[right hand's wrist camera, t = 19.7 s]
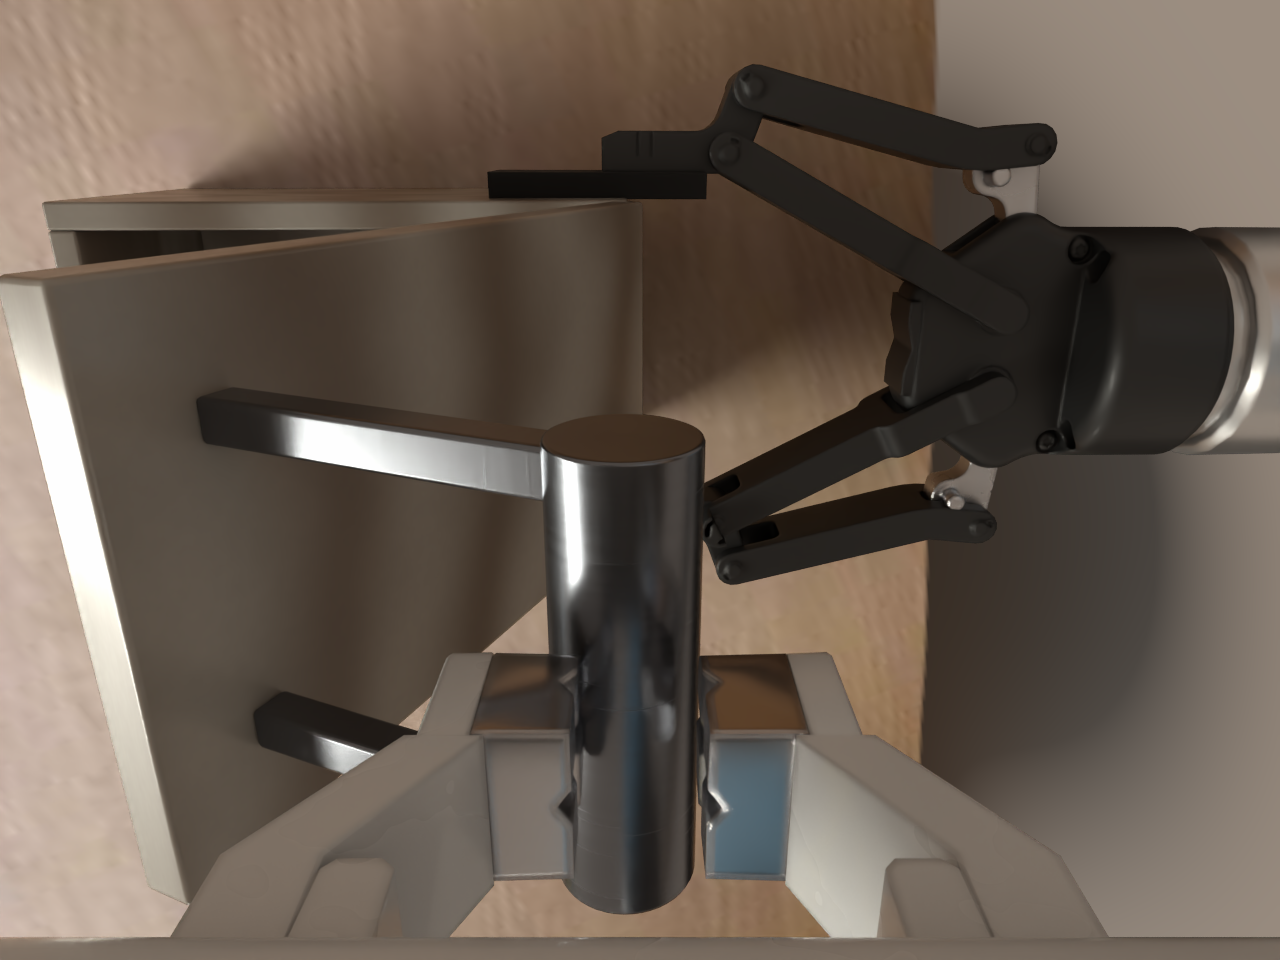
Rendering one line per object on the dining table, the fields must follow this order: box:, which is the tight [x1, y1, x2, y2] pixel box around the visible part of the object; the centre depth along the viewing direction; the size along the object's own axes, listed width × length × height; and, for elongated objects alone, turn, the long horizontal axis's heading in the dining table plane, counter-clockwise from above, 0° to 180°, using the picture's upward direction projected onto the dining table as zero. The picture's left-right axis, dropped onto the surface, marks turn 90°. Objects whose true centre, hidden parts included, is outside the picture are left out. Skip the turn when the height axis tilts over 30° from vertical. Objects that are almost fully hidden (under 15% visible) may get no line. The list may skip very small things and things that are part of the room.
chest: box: [42, 188, 627, 268], centre depth 31 cm, size 17×9×9 cm, turn 90°
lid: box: [0, 201, 705, 914], centre depth 18 cm, size 17×9×8 cm
